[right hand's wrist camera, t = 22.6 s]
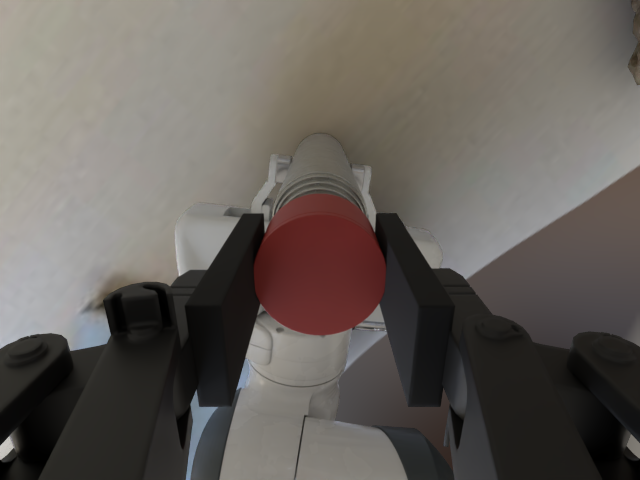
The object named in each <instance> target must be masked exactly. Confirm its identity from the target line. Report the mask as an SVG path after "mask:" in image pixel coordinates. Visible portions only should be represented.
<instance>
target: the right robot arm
mask: <svg viewBox="0 0 640 480" xmlns="http://www.w3.org/2000/svg"><path fill="white" fill-rule="evenodd" d="M264 234H265V226H264V213H243V215H242V216H241V218H240V219H239V221H238V223H237V224H236V226H235V227H234V229H233V230H232V232H231V233H230V235H229V237H228V238H227V240H226V241H225V243H224V244H223V246H222V248H221V249H220V251H219V252H218V254H217V255H216V257H215V259H214V260H213V262H212V263H211V265H210V266H209V268H208V270H189V271H187V272H186V273H184V274H182V275H181V276H179V277H177V279H176V280H175V281H174V282H173V284H172V285H171V286H168V285H167V284H164V283H159V282H143V283H137V284H131V285H128V286H125V287H122V288H119V289H118V290H116V291H114V292H112V293H110V294H109V295H108V296H107V297H106V298H105V299H104V300H103V302H104V306H105V311H106V315H107V319H108V324H109V328H110V332H111V336H110V338H109V340H108V342H107V344H104V345H100V346H96V347H90V348H85V349H80V350H75V351H70V349H69V346H68V342H67V339H66V338H64V337H63V336H62V335H58V334H52V333H49V334H36V335H31V336H30V337H29V336H27V337H24V338H21V339H19V340H17V341H15V342H13V343H10V344H8V345H6V346H4V347H3V348H1V349H0V445H1V444H2V443H3V442H4V441H5V440H6V439H7V438H8V437H9V436H10V439H11V441H12V444H13V446H14V448H13V449H12V450H11V452H10V453H9V454H8V455H7V456H5V457H4V458H3V459H2V460H0V480H186V472H187V464H188V456H189V447H190V439H191V431H192V423H193V419H192V412H191V406H190V403H191V401H192V399H193V396H194V394H195V391H196V389H197V394H198V401H199V407H232V403H233V400H234V396H235V393H236V389H237V386H238V382H239V379H240V375H241V371H242V368H243V364H244V361H245V357H246V354H247V350H248V347H249V343H250V339H251V336H252V332H253V329H254V325H255V322H256V318H257V315H258V311H259V307H260V304H261V303H260V301H259V299H258V297H257V295H256V292H255V281H254V261H255V257H256V255H257V252H258V250H259V247H260V245H261V242H262V240H263V237H264ZM375 235H376V237H377V240H378V242H379V245H380V248H381V250H382V253H383V255H384V258H385V262H386V278H385V291H384V294H383V297H382V299H381V301H380V303H379V305H380V308H381V312H382V315H383V319H384V323H385V326H386V330H387V333H388V337H389V340H390V344H391V347H392V351H393V355H394V358H395V362H396V365H397V369H398V372H399V376H400V379H401V383H402V386H403V390H404V394H405V397H406V401H407V404H408V407H440V406H441V399H442V392H443V388H444V390H445V392H446V395H447V397H448V400H449V402H450V406H449V412H448V419H447V425H446V431H445V438H444V445H443V446H446V447H448V446H449V441H450V447H451V454H452V462H453V471H454V479H455V480H640V459H639V458H638V457H637V456H635V455H634V454H633V453H632V452H631V451H630V450H629V449H628V447H627V446H626V445H627V443H628V440H629V438H630V435H631V434H632V435H633V436H634V437H635V438H636V439H637V440H638V441H639V443H640V347H639V346H637V345H636V344H634V343H632V342H630V341H627V340H625V339H623V338H621V337H619V336H616V335H613V334H612V335H610V334H609V333H603V332H601V333H600V332H583V333H579V334H577V335H576V336H575V337H574V338H573V341H572V344H571V348H570V350H569V349H564V348H559V347H553V346H548V345H542V344H538V343H534V342H532V340H531V338H530V336H529V334H528V333H527V332H526V330H525V329H524V328H523V327H521V326H520V325H518V324H517V323H515V322H514V321H511V320H509V319H506V318H504V317H501V316H496V315H493V314H492V313H491V312H490V311H489V309H488V308H487V307H486V306H485V304H484V303H483V302H482V300H481V299H480V298H479V297H478V295H476V294H475V291H474V290H473V289H472V288H471V287H470V285H469V284H468V282H467V281H466V280H465V279H464V277H463V276H461V275H460V274H458V273H456V272H455V271H453V270H451V269H450V268H431V267H430V265H429V264H428V262H427V261H426V259H425V257H424V256H423V254H422V253H421V251H420V250H419V248H418V246H417V245H416V243H415V242H414V240H413V239H412V237H411V235H410V234H409V232H408V231H407V229H406V228H405V226H404V224H403V223H402V221H401V220H400V218H399V217H398V215H397V213H376V222H375Z"/></svg>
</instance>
